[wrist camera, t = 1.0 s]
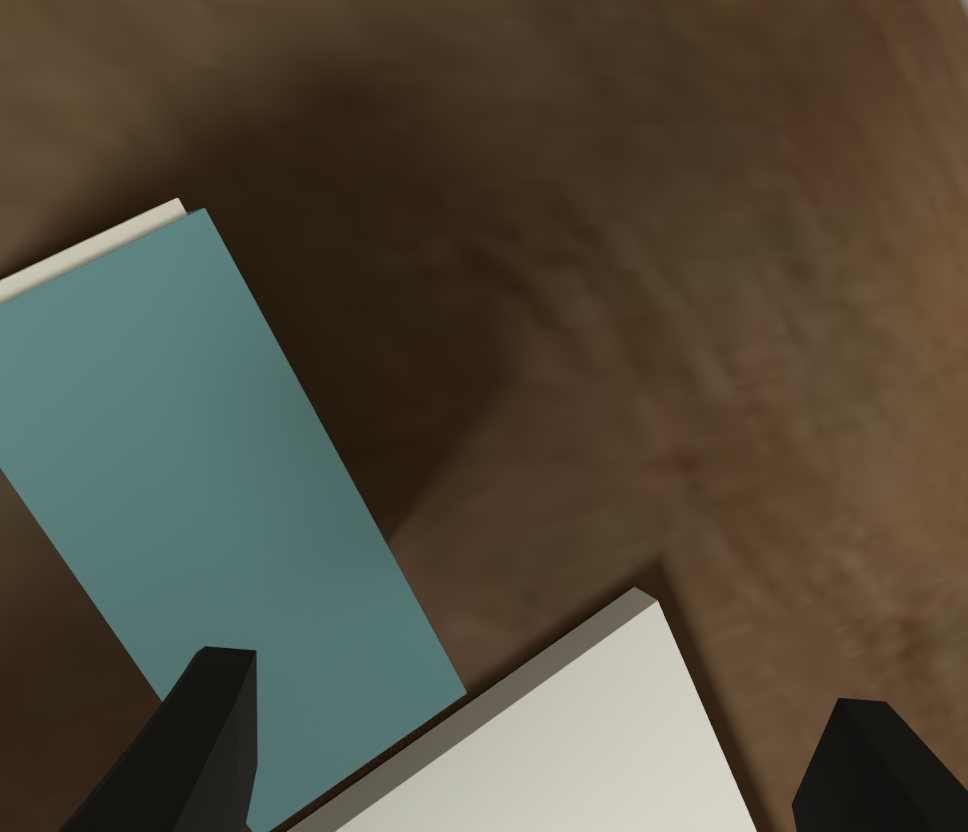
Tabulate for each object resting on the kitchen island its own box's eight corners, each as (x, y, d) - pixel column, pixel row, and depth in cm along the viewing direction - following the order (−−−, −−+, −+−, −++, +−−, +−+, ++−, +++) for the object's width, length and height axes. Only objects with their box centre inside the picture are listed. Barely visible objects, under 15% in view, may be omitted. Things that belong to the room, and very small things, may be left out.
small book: (205, 674, 23) (257, 839, 16) (-42, 299, 19) (-97, 326, 13) (363, 575, 24) (467, 692, 18) (156, 206, 20) (194, 189, 14)
